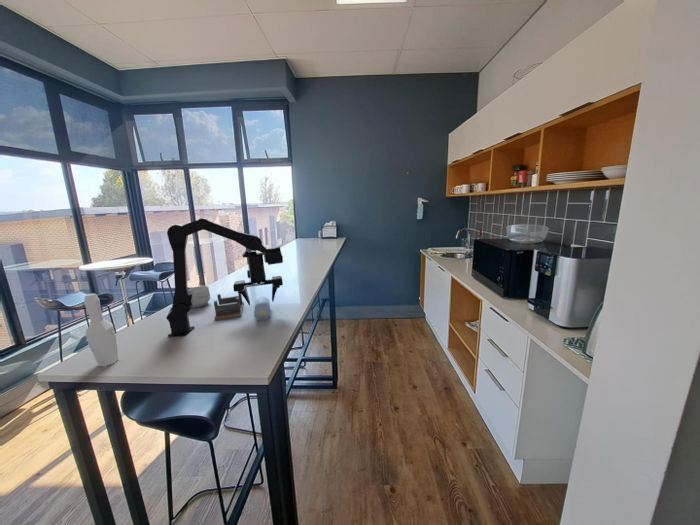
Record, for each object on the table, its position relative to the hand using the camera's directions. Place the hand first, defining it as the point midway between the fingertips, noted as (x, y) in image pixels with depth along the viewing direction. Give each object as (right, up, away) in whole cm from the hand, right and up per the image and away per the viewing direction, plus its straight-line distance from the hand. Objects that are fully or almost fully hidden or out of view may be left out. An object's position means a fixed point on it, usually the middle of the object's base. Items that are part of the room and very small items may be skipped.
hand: (261, 303), depth 113 cm
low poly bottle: (-38, -14, -29) cm, 49 cm away
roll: (0, -2, +1) cm, 2 cm away
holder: (-16, -5, +7) cm, 18 cm away
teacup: (-35, -3, +18) cm, 40 cm away
